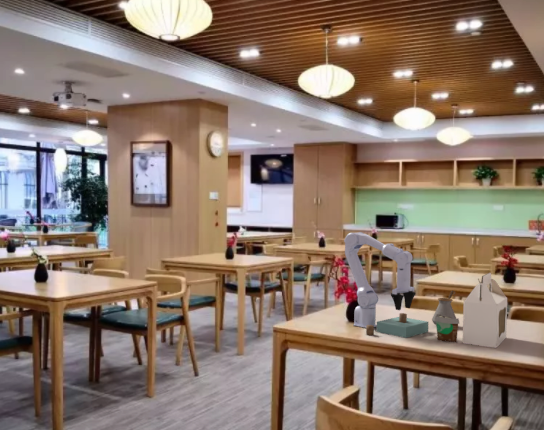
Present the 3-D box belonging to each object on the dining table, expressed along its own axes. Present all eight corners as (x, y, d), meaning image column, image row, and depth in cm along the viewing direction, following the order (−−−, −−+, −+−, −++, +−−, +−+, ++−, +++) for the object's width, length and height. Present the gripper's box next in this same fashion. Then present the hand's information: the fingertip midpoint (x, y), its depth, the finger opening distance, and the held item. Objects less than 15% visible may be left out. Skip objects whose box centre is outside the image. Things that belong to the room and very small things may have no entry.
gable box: (474, 333, 255) (476, 270, 254) (506, 337, 248) (508, 273, 247) (462, 343, 236) (464, 275, 235) (496, 348, 229) (498, 278, 228)
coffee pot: (454, 330, 261) (454, 297, 261) (428, 327, 267) (429, 294, 267) (464, 322, 279) (465, 291, 279) (440, 319, 285) (441, 289, 285)
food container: (428, 337, 246) (428, 313, 246) (440, 336, 248) (440, 313, 248) (446, 343, 235) (447, 319, 234) (458, 342, 237) (459, 318, 237)
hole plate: (376, 331, 255) (376, 321, 255) (399, 326, 268) (399, 316, 267) (405, 337, 244) (406, 327, 244) (428, 331, 257) (428, 321, 257)
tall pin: (397, 331, 256) (398, 313, 256) (401, 330, 258) (402, 312, 258) (403, 332, 254) (404, 314, 253) (407, 331, 256) (408, 314, 256)
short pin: (364, 334, 249) (364, 325, 249) (369, 333, 251) (369, 324, 251) (370, 335, 247) (370, 326, 247) (375, 334, 249) (375, 325, 249)
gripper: (402, 280, 247) (401, 312, 248) (420, 278, 258) (419, 308, 258) (388, 279, 253) (387, 309, 253) (406, 276, 263) (406, 306, 263)
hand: (402, 308), depth 256 cm, fingers open, 7 cm apart
